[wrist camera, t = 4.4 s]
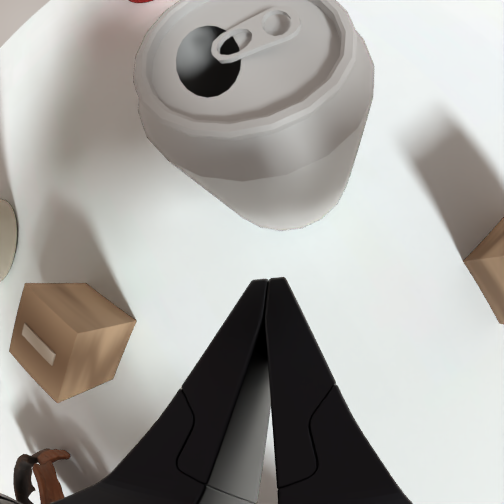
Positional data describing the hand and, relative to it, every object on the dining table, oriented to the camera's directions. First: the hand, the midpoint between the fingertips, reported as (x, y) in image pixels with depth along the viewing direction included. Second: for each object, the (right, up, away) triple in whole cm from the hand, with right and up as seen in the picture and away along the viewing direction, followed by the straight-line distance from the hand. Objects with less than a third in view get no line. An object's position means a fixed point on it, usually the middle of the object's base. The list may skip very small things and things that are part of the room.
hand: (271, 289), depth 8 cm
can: (+1, +6, +11) cm, 12 cm away
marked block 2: (-11, -5, +12) cm, 17 cm away
